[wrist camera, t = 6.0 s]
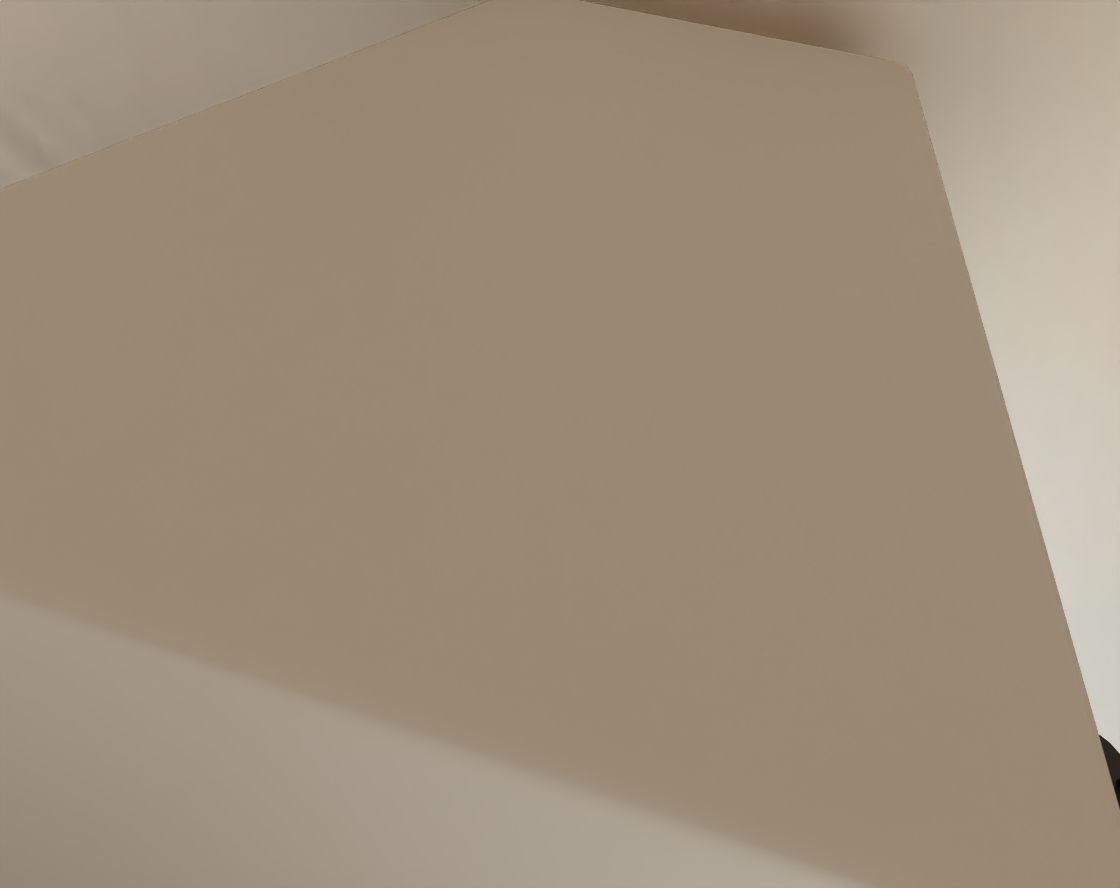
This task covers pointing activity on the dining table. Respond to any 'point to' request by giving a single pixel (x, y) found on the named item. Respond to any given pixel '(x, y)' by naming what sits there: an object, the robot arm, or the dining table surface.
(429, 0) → the dining table surface
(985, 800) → the milk carton
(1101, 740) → the robot arm
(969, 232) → the dining table surface
